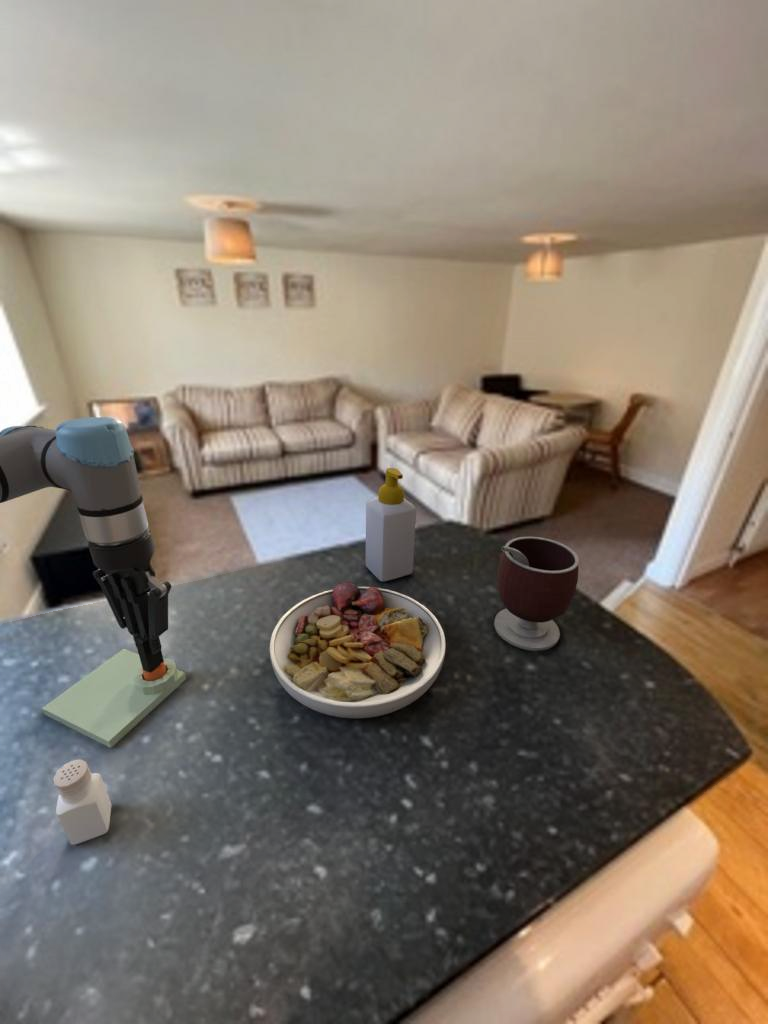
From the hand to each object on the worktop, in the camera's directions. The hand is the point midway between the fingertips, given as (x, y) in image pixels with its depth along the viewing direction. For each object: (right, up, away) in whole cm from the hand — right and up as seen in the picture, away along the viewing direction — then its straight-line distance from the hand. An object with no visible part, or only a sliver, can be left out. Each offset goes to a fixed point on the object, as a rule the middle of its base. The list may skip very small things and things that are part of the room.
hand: (153, 665), depth 71 cm
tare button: (0, -2, +1) cm, 2 cm away
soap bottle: (+38, +10, +35) cm, 53 cm away
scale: (-5, -5, 0) cm, 7 cm away
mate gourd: (+64, +1, +17) cm, 66 cm away
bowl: (+32, -2, +9) cm, 33 cm away
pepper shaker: (+2, -13, -17) cm, 22 cm away
